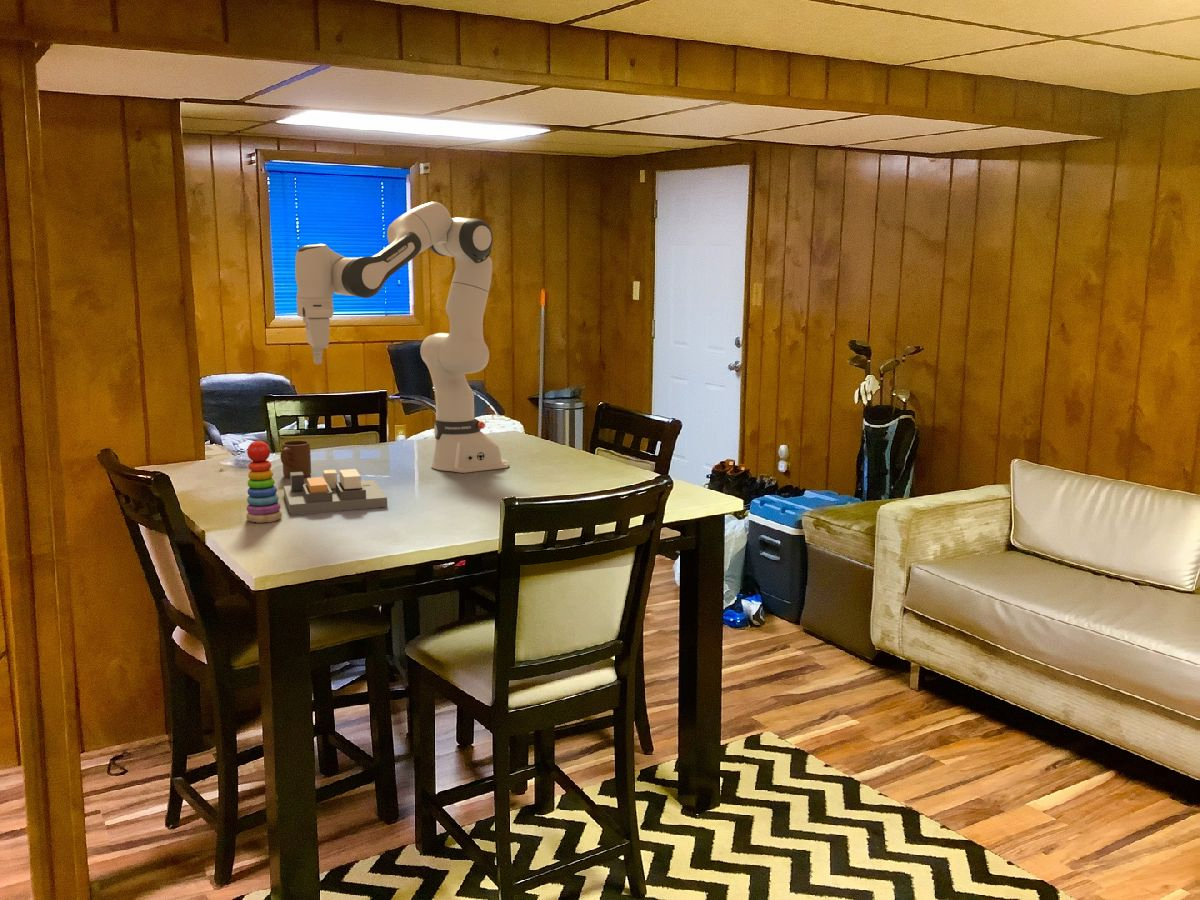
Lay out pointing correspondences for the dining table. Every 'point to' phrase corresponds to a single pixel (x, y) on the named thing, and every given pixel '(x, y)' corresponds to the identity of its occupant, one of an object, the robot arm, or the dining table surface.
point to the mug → (296, 458)
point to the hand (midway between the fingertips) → (317, 363)
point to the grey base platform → (335, 498)
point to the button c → (316, 485)
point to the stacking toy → (261, 486)
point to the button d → (350, 479)
